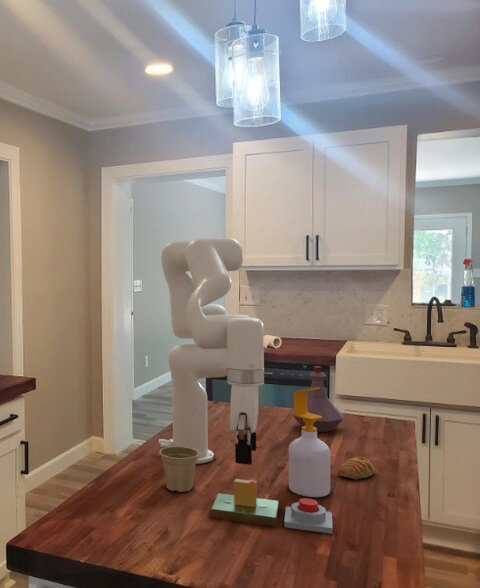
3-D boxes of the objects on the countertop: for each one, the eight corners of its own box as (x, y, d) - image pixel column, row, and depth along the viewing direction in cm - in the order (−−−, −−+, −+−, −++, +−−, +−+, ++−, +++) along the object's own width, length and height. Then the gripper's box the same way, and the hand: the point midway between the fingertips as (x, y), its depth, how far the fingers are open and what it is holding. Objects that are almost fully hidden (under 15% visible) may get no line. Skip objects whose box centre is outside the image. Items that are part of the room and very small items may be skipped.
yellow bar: (234, 504, 123) (234, 480, 123) (235, 501, 125) (235, 477, 124) (256, 507, 121) (255, 482, 121) (256, 504, 123) (256, 480, 123)
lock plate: (211, 518, 121) (211, 507, 121) (218, 501, 130) (217, 492, 130) (276, 527, 117) (276, 516, 116) (278, 509, 125) (278, 499, 125)
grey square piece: (284, 527, 116) (284, 512, 116) (286, 511, 124) (286, 497, 124) (332, 534, 113) (332, 519, 113) (331, 517, 121) (331, 503, 120)
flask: (303, 418, 199) (303, 361, 198) (353, 427, 188) (353, 366, 187) (282, 428, 187) (281, 367, 186) (333, 438, 176) (333, 373, 175)
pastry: (358, 483, 139) (358, 467, 139) (331, 476, 145) (331, 460, 144) (376, 474, 145) (376, 459, 145) (350, 467, 150) (350, 452, 150)
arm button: (298, 512, 117) (298, 503, 117) (299, 505, 121) (299, 497, 121) (317, 514, 116) (317, 506, 116) (317, 507, 119) (317, 499, 119)
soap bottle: (311, 501, 129) (311, 392, 128) (280, 487, 137) (280, 385, 136) (338, 493, 133) (339, 387, 132) (307, 480, 141) (307, 381, 140)
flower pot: (175, 477, 145) (175, 443, 145) (207, 487, 138) (206, 451, 138) (151, 487, 139) (151, 452, 138) (183, 498, 132) (183, 461, 131)
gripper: (232, 369, 131) (233, 443, 132) (221, 382, 115) (222, 467, 116) (267, 370, 129) (267, 446, 129) (260, 384, 112) (261, 471, 113)
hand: (246, 456), depth 122 cm, fingers open, 9 cm apart
